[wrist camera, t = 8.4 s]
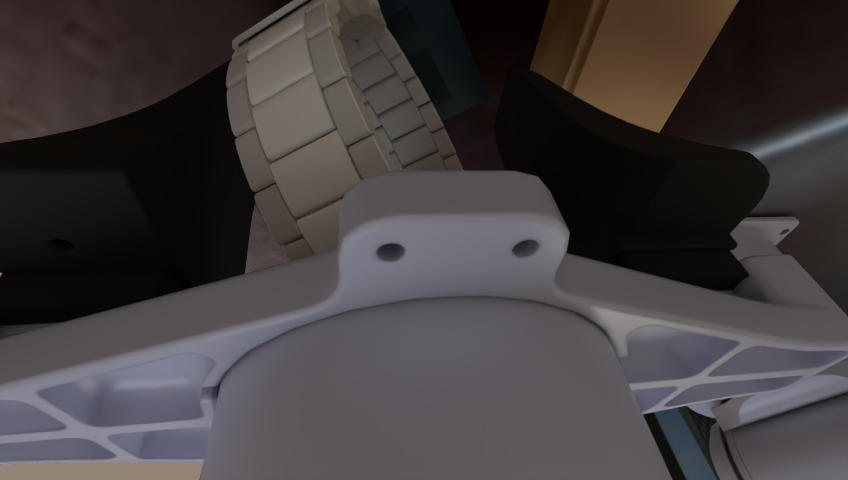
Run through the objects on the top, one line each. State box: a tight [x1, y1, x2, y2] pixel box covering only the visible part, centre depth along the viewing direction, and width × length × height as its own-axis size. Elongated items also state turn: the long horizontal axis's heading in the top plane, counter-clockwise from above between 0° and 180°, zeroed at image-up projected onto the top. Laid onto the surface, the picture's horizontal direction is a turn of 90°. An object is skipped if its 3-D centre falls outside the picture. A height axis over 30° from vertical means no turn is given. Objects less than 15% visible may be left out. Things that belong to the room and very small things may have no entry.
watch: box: [226, 0, 490, 262], centre depth 11 cm, size 6×8×11 cm
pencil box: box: [530, 0, 739, 133], centre depth 13 cm, size 14×4×3 cm, turn 175°
